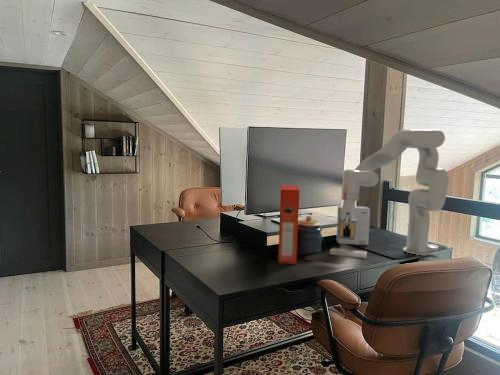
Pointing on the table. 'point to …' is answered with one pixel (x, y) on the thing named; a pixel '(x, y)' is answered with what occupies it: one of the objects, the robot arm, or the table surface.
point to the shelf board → (348, 252)
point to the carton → (352, 227)
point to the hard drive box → (357, 226)
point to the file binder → (288, 224)
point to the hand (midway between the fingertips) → (347, 235)
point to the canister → (308, 236)
